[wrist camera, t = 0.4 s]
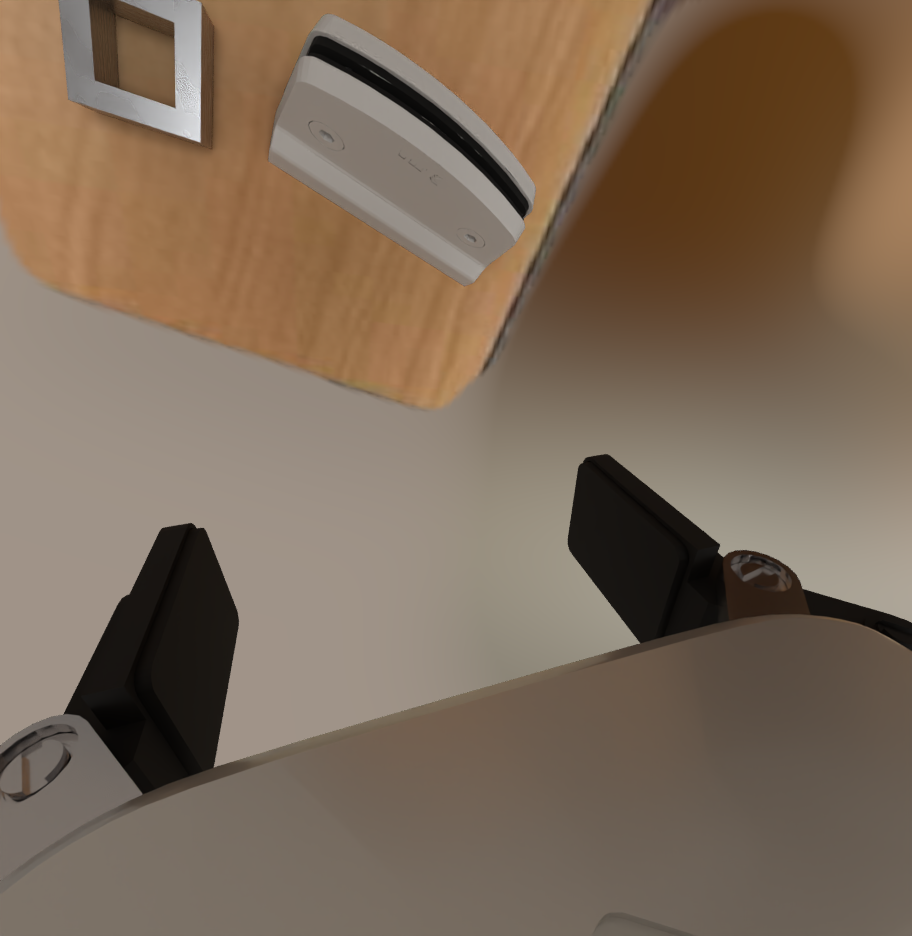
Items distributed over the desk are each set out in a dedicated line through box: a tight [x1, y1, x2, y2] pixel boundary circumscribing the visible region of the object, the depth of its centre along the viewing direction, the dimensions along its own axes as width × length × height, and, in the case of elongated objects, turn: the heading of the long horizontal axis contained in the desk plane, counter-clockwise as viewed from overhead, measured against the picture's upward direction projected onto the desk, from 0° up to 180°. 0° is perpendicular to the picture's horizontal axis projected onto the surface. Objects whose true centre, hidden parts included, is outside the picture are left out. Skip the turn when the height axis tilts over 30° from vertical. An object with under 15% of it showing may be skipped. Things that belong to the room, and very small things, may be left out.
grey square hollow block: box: [59, 0, 214, 149], centre depth 24 cm, size 6×6×4 cm
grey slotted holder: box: [268, 14, 536, 286], centre depth 28 cm, size 17×5×10 cm, turn 59°
